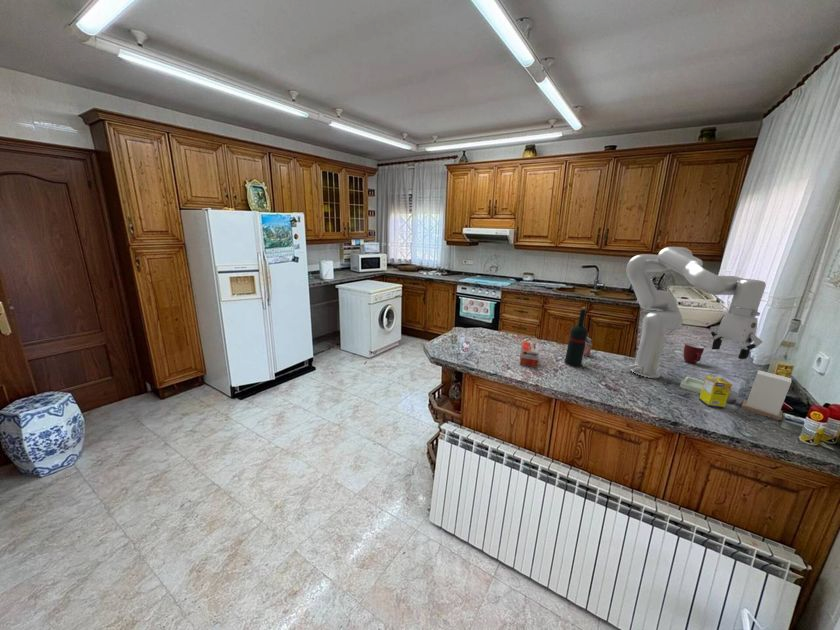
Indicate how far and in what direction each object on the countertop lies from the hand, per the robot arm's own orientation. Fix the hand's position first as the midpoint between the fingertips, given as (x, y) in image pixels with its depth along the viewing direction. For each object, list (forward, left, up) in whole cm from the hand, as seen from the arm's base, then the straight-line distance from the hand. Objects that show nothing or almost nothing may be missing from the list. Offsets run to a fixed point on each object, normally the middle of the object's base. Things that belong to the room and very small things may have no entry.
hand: (728, 353), depth 127 cm
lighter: (-19, +54, -22) cm, 62 cm away
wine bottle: (-34, +43, -22) cm, 59 cm away
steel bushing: (+10, +2, -22) cm, 25 cm away
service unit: (+16, -7, -22) cm, 28 cm away
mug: (+36, +39, -22) cm, 58 cm away
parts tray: (+9, +12, -22) cm, 27 cm away
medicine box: (-57, +47, -23) cm, 77 cm away
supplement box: (0, 0, -22) cm, 23 cm away
